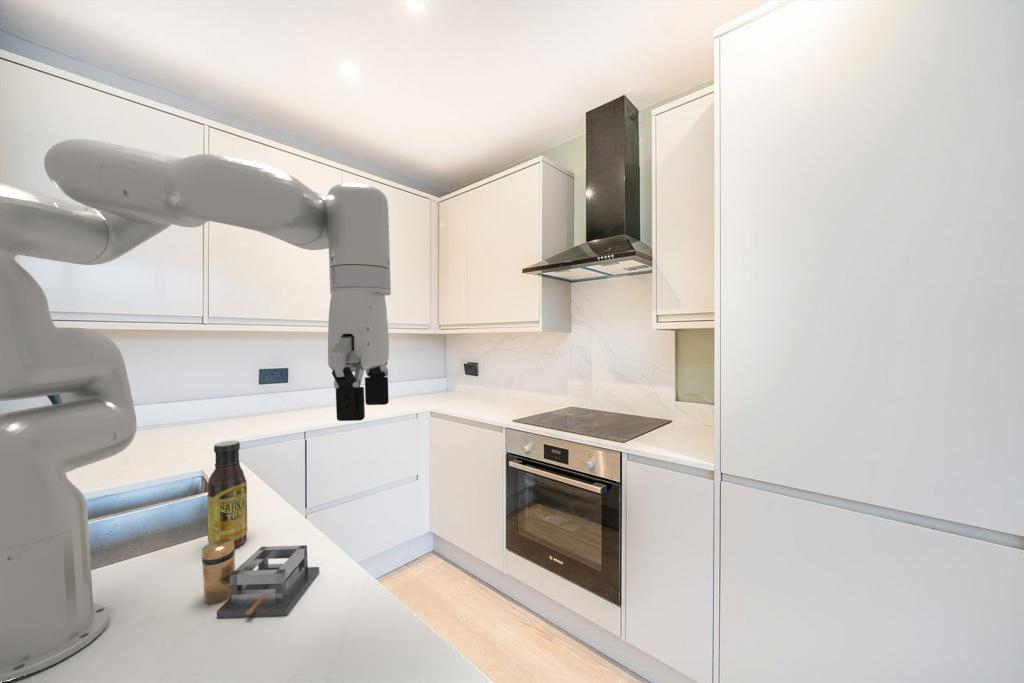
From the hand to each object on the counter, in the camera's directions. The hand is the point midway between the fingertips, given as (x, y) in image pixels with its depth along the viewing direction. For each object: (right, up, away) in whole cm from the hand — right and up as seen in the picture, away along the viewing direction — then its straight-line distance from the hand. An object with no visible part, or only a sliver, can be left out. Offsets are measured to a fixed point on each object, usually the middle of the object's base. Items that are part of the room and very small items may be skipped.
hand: (365, 411), depth 53 cm
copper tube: (-26, -31, +9) cm, 41 cm away
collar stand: (-18, -30, +9) cm, 36 cm away
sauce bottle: (-35, -30, +24) cm, 52 cm away
